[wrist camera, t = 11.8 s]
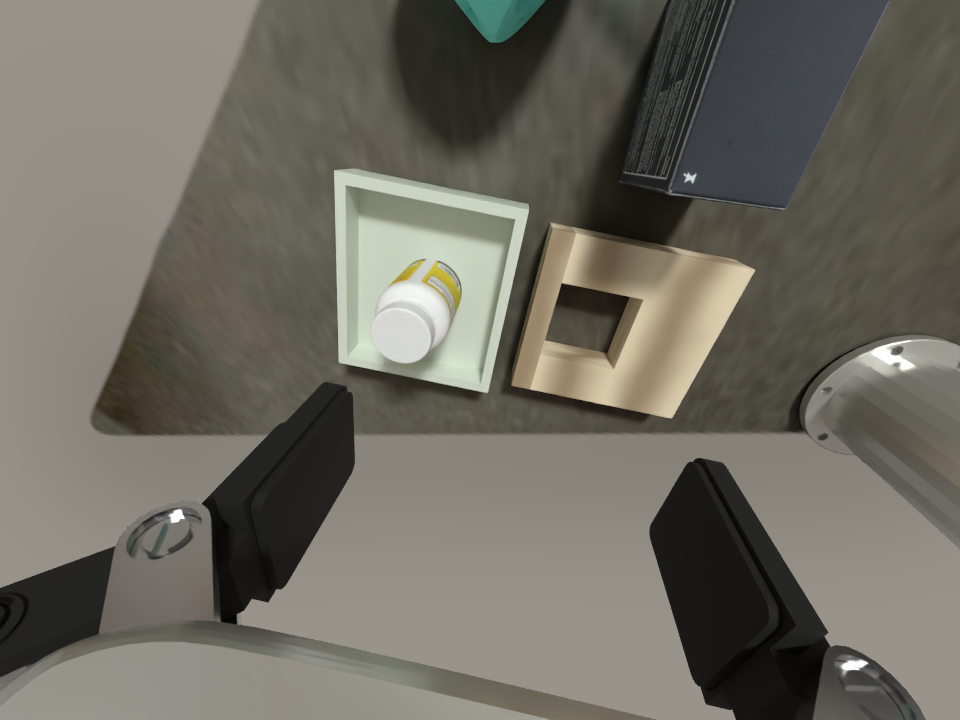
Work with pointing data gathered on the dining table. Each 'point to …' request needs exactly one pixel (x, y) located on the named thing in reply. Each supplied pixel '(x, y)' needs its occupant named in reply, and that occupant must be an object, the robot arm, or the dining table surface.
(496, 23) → the decorative dice
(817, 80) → the small box
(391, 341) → the supplement bottle
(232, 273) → the dining table surface
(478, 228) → the tray
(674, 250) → the beige flat square frame
